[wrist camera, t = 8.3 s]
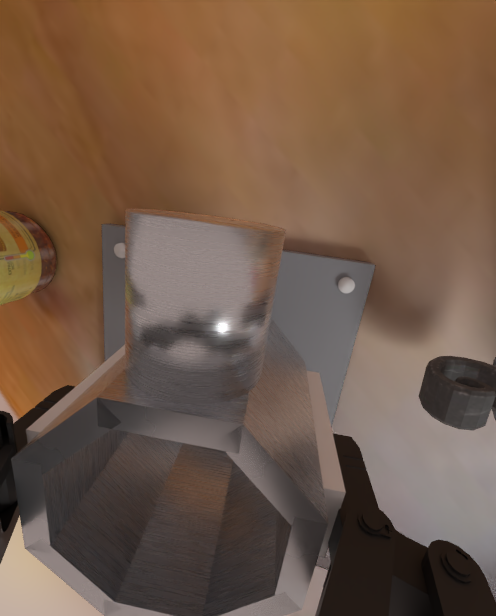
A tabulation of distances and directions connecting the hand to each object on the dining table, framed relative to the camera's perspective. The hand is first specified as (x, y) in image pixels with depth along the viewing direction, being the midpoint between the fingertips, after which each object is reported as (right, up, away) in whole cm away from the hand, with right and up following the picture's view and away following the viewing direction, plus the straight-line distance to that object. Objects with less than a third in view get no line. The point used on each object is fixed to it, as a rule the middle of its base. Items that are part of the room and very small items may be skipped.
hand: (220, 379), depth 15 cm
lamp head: (0, +2, 0) cm, 2 cm away
